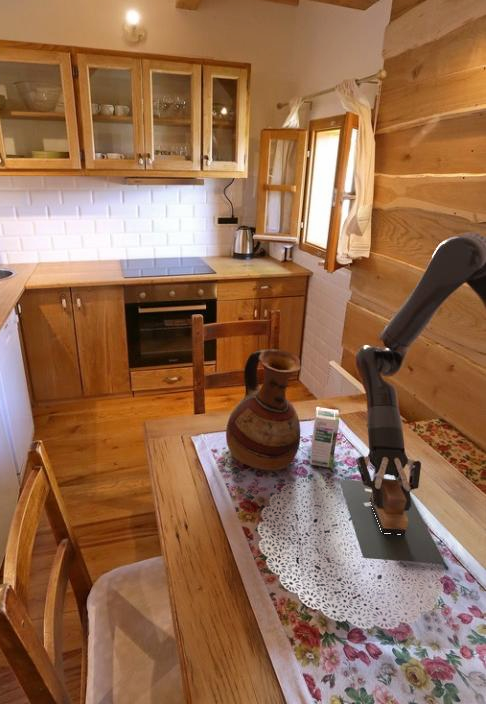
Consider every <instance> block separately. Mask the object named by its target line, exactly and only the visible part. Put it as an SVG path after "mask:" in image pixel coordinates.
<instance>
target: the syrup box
mask: <svg viewBox="0 0 486 704" xmlns="http://www.w3.org/2000/svg"><path fill="white" fill-rule="evenodd" d="M339 425H340V413H339V409H332V408H325V407H321V406H316V408H315V415H314V422H313V429H312V438H311V445H310V457H309V465H310V466H319V467H323V468H328V469H332V468H333V465H334V457H335V451H336V445H337V440H338V439H337V438H338V432H339Z"/></svg>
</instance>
